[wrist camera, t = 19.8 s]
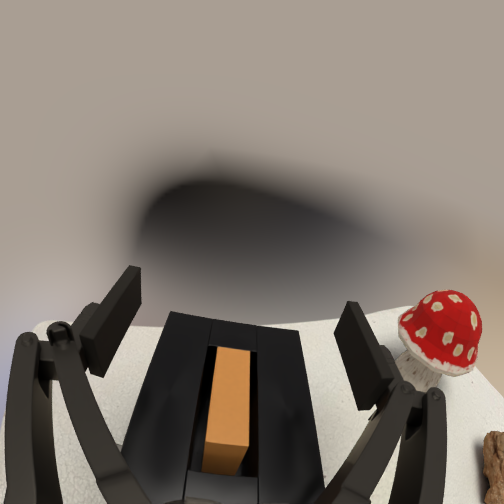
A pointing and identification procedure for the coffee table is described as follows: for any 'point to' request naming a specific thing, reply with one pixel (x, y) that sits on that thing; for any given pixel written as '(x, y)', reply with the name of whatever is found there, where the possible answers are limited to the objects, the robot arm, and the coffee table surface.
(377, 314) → the coffee table surface
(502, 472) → the rock
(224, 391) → the toast
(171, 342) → the toaster
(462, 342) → the decorative mushroom
